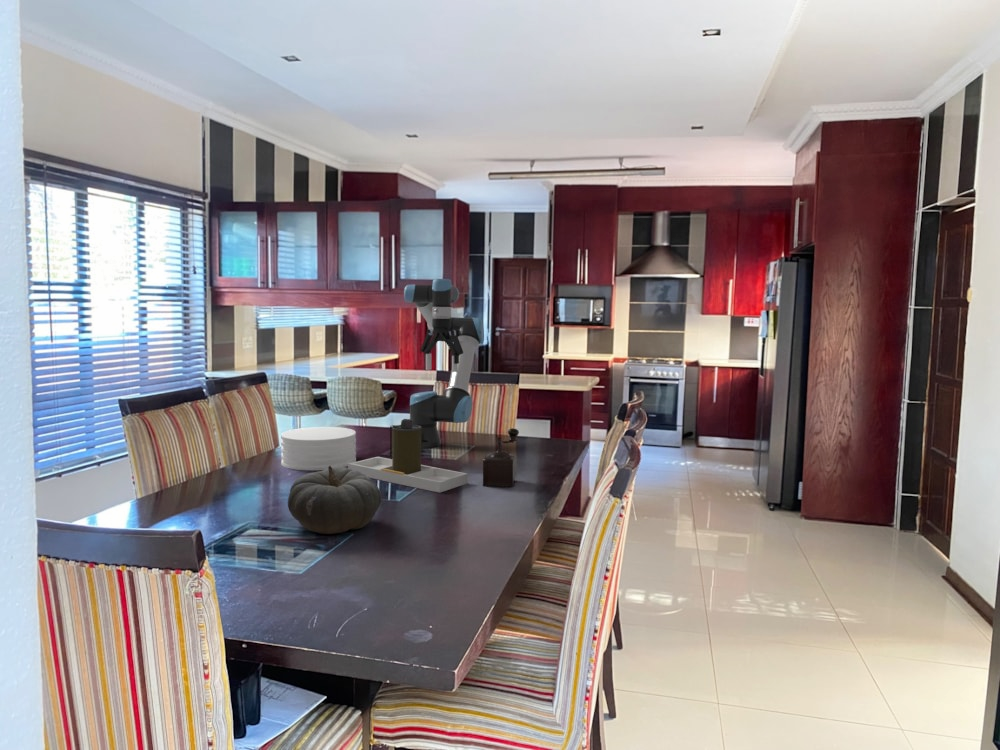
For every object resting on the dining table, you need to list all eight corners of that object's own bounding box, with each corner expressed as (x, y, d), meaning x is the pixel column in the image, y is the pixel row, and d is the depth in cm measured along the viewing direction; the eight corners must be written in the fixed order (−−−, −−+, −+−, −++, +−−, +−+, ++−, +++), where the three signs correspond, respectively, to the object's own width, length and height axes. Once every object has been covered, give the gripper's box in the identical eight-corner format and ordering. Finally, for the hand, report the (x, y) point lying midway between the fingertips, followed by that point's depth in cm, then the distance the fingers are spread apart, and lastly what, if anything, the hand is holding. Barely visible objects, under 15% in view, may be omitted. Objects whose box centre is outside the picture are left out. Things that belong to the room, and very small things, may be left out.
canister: (424, 472, 251) (424, 417, 249) (418, 479, 240) (418, 422, 238) (394, 471, 252) (394, 416, 250) (387, 478, 242) (387, 421, 240)
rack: (348, 473, 252) (348, 462, 252) (377, 465, 265) (377, 455, 264) (439, 492, 228) (439, 480, 228) (467, 483, 240) (467, 472, 240)
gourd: (345, 497, 211) (345, 444, 206) (400, 528, 196) (402, 471, 191) (271, 524, 193) (270, 467, 188) (326, 560, 178) (326, 499, 173)
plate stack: (364, 455, 283) (364, 427, 282) (343, 472, 255) (342, 441, 254) (297, 453, 285) (297, 425, 284) (269, 469, 257) (268, 438, 256)
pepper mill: (514, 487, 235) (515, 435, 234) (482, 486, 237) (482, 434, 235) (518, 476, 251) (519, 427, 249) (488, 475, 252) (489, 426, 250)
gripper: (412, 317, 282) (411, 369, 284) (460, 318, 268) (460, 373, 270) (424, 317, 288) (424, 368, 290) (472, 318, 274) (471, 372, 276)
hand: (441, 370), depth 280 cm, fingers open, 13 cm apart
